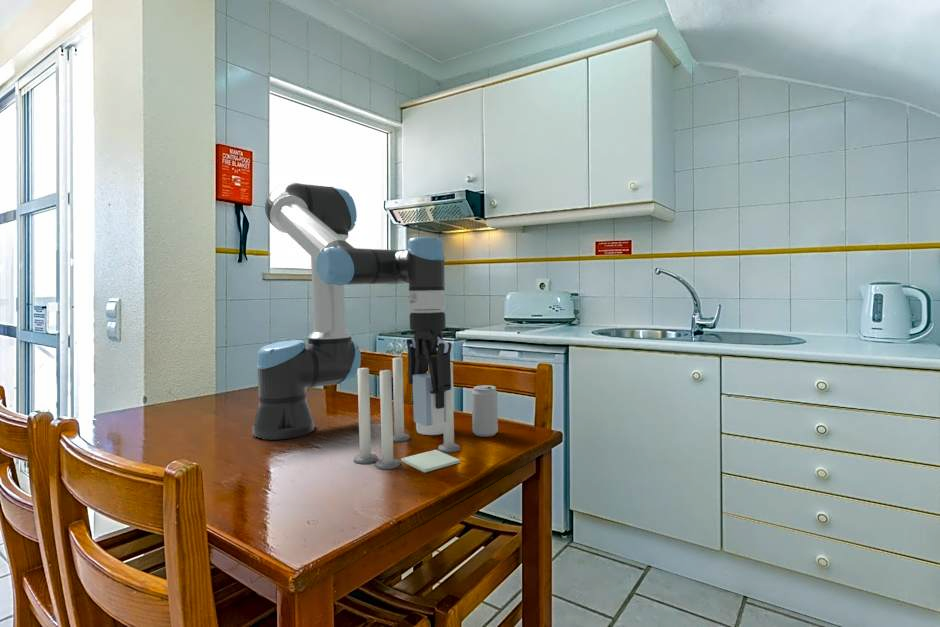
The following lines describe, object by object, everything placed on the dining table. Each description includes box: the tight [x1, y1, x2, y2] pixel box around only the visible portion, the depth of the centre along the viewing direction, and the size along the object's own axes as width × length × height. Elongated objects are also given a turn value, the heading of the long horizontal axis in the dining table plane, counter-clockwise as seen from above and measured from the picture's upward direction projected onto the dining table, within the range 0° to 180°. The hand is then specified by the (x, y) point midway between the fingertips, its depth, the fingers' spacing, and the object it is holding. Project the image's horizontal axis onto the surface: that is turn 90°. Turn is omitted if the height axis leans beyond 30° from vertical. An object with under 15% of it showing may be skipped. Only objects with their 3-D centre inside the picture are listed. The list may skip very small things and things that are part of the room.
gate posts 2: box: [375, 361, 461, 471], centre depth 114 cm, size 5×21×20 cm, turn 129°
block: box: [412, 372, 446, 426], centre depth 110 cm, size 5×5×10 cm
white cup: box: [415, 422, 444, 436], centre depth 135 cm, size 10×10×12 cm
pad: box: [400, 449, 461, 473], centre depth 111 cm, size 9×9×1 cm
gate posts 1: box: [353, 357, 411, 465], centre depth 120 cm, size 5×21×20 cm, turn 161°
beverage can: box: [471, 384, 499, 438], centre depth 131 cm, size 6×6×12 cm
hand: (429, 420), depth 111 cm, fingers closed on block, 5 cm apart
